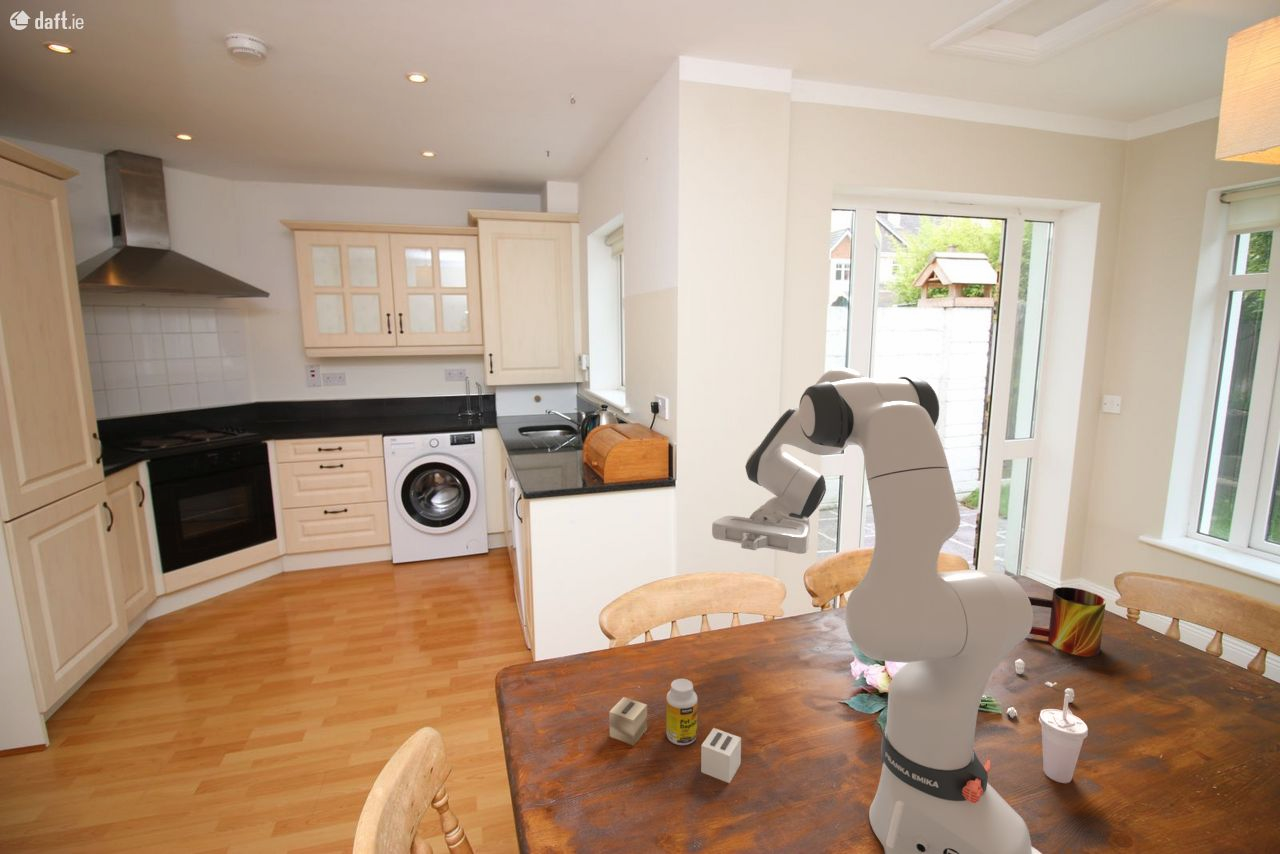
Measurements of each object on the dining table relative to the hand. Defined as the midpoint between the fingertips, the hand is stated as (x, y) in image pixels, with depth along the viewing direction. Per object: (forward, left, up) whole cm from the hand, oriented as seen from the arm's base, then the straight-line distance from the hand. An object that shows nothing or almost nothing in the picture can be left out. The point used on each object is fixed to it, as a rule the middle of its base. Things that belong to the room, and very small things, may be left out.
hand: (748, 545), depth 117 cm
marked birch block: (+6, +28, -30) cm, 41 cm away
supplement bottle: (-2, +21, -30) cm, 37 cm away
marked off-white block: (-12, +22, -30) cm, 39 cm away
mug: (-42, -65, -30) cm, 83 cm away
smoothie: (-51, -16, -30) cm, 61 cm away
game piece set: (-40, -36, -31) cm, 62 cm away
